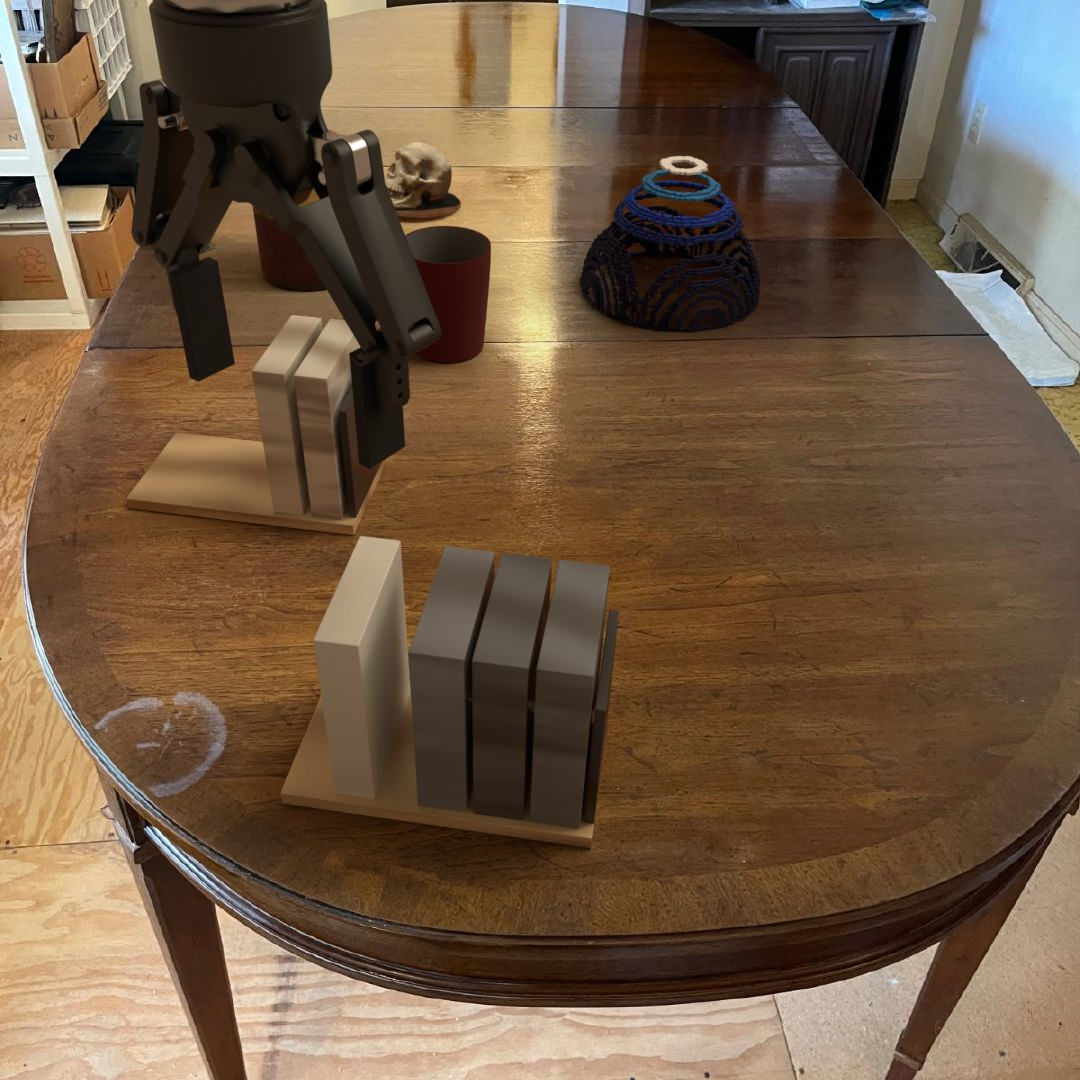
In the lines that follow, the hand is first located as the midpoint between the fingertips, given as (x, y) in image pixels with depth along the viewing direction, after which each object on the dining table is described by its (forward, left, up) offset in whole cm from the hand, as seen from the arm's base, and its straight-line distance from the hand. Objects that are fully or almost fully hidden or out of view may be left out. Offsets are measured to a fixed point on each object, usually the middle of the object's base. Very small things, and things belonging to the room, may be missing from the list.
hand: (293, 411), depth 59 cm
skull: (+84, +14, -22) cm, 88 cm away
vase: (+62, +21, -22) cm, 69 cm away
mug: (+47, +3, -22) cm, 52 cm away
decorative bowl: (+66, -20, -22) cm, 72 cm away
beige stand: (+21, +12, -22) cm, 32 cm away
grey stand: (-5, -10, -22) cm, 24 cm away
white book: (-5, -5, -21) cm, 22 cm away
